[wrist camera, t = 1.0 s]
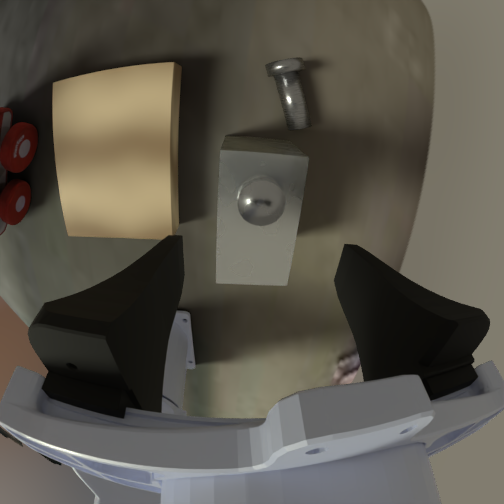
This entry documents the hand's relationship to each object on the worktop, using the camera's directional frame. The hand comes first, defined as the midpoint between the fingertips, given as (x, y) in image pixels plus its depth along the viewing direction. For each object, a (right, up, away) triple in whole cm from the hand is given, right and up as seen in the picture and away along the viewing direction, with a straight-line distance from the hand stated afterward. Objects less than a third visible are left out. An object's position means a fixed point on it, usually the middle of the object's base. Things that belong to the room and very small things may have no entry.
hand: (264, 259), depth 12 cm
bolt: (+2, +11, +4) cm, 12 cm away
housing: (-1, +5, +8) cm, 9 cm away
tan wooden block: (-10, +8, +5) cm, 14 cm away
